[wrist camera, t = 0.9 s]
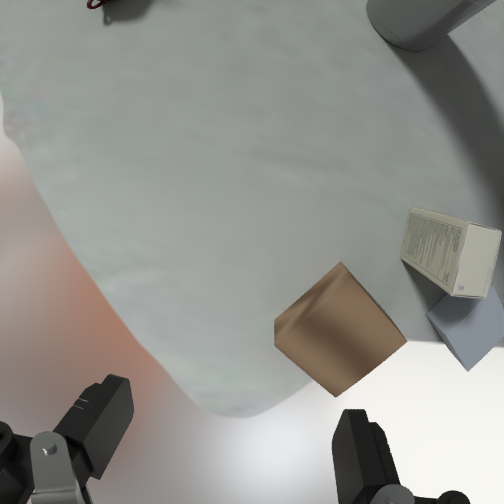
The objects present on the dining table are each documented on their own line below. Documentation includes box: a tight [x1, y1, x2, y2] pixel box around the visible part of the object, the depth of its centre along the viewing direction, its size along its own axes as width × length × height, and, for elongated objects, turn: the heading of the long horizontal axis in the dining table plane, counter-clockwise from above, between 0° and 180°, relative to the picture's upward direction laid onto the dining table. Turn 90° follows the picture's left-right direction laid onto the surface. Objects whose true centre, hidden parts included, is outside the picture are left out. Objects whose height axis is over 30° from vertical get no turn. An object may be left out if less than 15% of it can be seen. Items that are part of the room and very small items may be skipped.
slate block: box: [426, 285, 504, 371], centre depth 31 cm, size 8×8×6 cm
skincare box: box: [401, 207, 502, 299], centre depth 26 cm, size 6×4×12 cm
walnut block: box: [274, 262, 407, 397], centre depth 33 cm, size 10×10×6 cm
